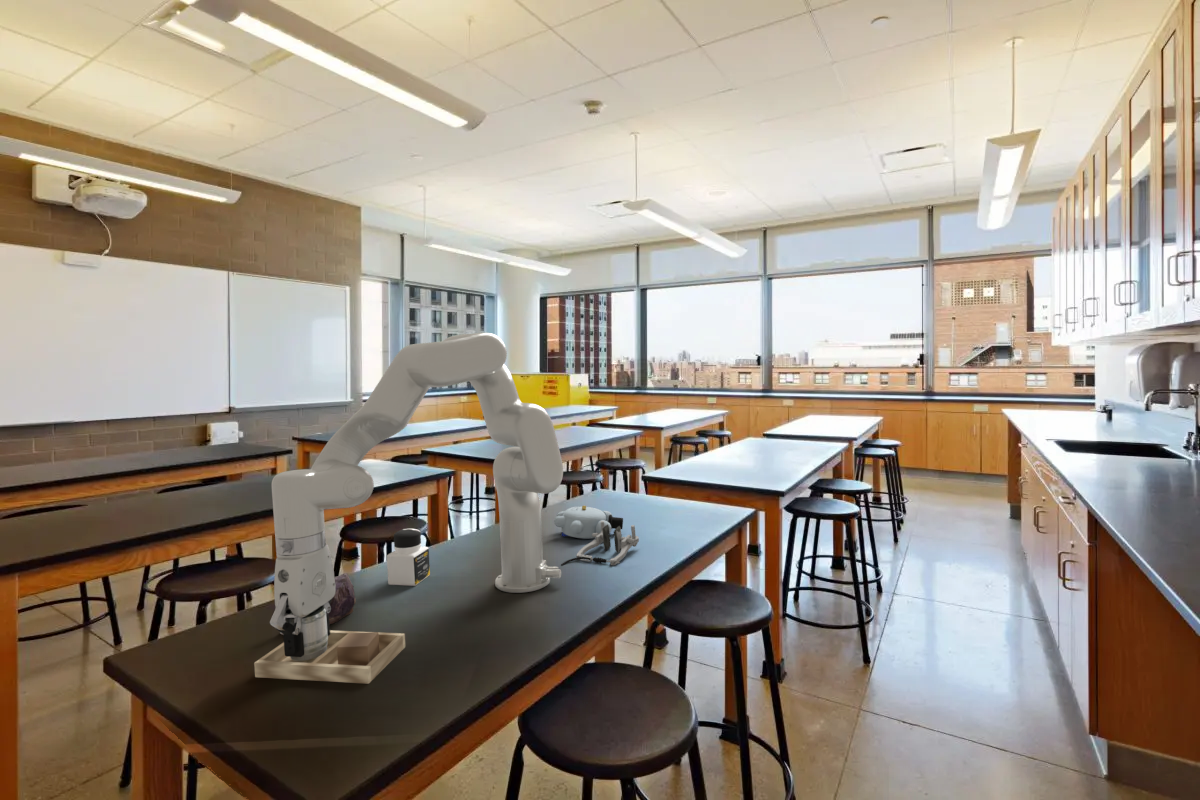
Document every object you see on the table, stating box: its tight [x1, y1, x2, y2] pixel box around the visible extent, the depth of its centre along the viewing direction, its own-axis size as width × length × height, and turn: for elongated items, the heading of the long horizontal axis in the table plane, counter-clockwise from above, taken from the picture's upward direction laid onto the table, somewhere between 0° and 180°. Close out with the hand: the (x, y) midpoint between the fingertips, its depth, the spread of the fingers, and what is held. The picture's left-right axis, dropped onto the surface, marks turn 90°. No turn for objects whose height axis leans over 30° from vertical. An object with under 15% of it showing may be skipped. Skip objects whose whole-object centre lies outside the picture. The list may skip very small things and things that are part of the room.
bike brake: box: [560, 521, 640, 566], centre depth 150 cm, size 14×7×20 cm
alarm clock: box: [553, 505, 624, 540], centre depth 171 cm, size 17×8×20 cm
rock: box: [327, 572, 357, 625], centre depth 116 cm, size 12×9×10 cm
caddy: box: [253, 629, 406, 685], centre depth 99 cm, size 20×12×3 cm, turn 81°
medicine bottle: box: [386, 528, 431, 587], centre depth 138 cm, size 7×7×12 cm
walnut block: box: [337, 631, 380, 666], centre depth 98 cm, size 5×5×4 cm
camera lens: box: [289, 606, 328, 661], centre depth 100 cm, size 6×6×8 cm
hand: (308, 644), depth 100 cm, fingers closed on camera lens, 6 cm apart
